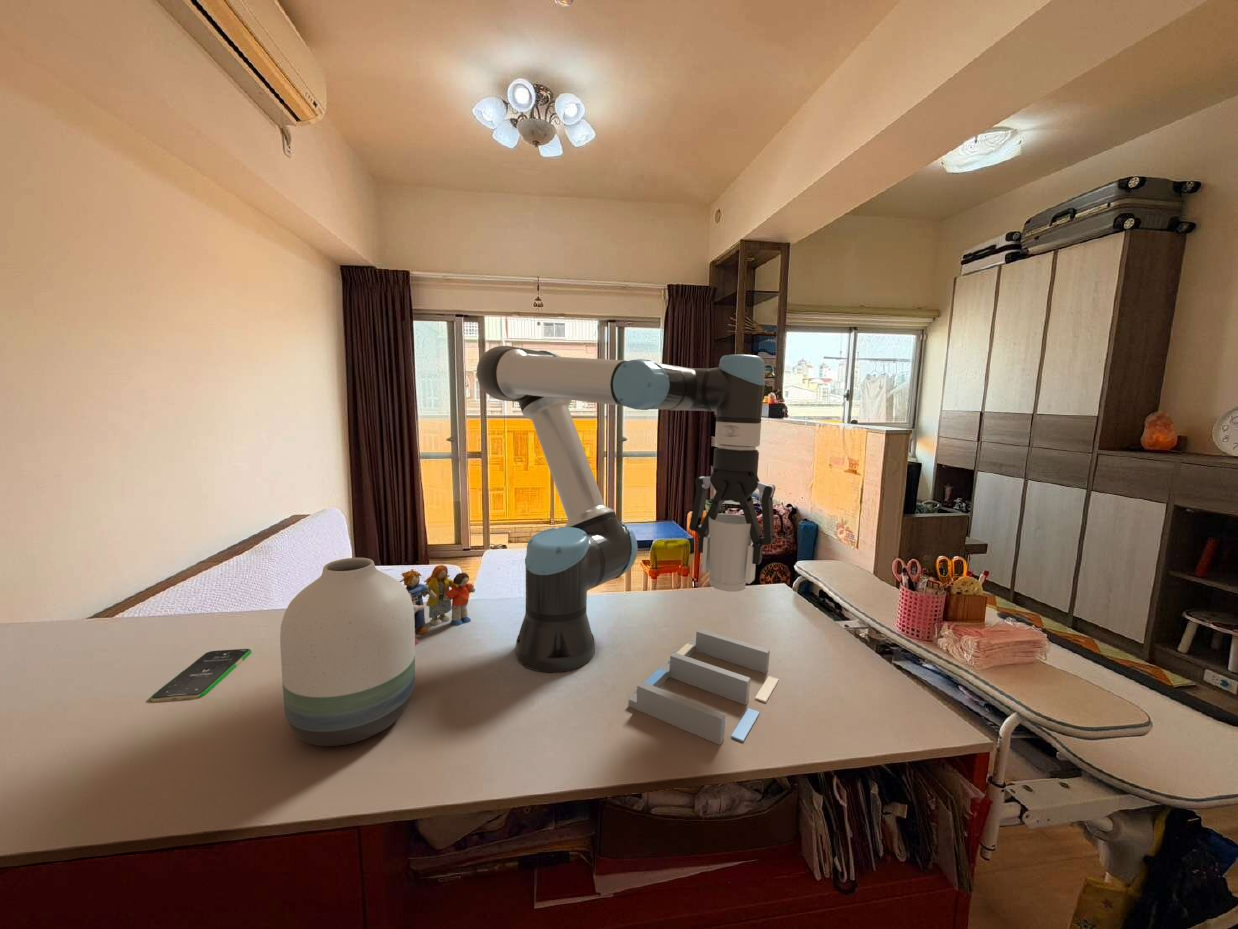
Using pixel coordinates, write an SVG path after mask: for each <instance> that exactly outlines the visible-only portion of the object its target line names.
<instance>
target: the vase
mask: <svg viewBox="0 0 1238 929" xmlns="http://www.w3.org/2000/svg"><path fill="white" fill-rule="evenodd" d="M399 581H400V580H397V579H396V578H394V577H392V576H391V575H389V574H387V573H385V572H382V571H380V570H379V569H377V567H376V564H375V562H374V560H373V559H371V558H367V557H348V558H342V559H341V558H340V559H336V560H332V561H330V562H328V563H326V564H325V565H324V566H323V568H322V573H321V575H320V576H319V577H318V578H317V579H315V580H314V581H312V582H311V583H310V584H308V585H307V586H306V587H304V588H303V589H302V590H300V592H298V594H297V595H295V597H293V599H291V601H290V603H289V604H288V605H287V608H286V609H285V611H284V614H283V616H282V619H281V624H280V634H279V635H280V638H279V639H280V640H279V642H280V661H281V662H280V663H281V664H280V666H281V678H282V679H281V680H282V694H283V705H284V706H283V708H284V714H285V718H286V721H287V724H288V725H289V727H290V729H291V731H292V732H293V733H294V734H295V736H296V737H298V738H299V739H300V740H301V741H304V742H305V743H308V744H311V745H315V746H321V747H322V746H323V747H333V746H334V747H337V746H344V745H350V744H354V743H358V742H361V741H363V740H366V739H369V738H371V737H373V736H376V735H377V734H380V733H381V732H383V731H384V730H386V729H388V728H389V727H390V726H392V725H393V724H394V723H396V721H397V720H398V719H400V717H401V716H402V715H403V714H404V713H405V711H406V710H407V708H408V705H409V704H410V701H411V700H412V696H413V694H414V689H415V684H416V683H415V681H416V645H415V639H416V636H415V633H416V632H415V630H416V629H415V622H414V608H413V603H412V600H411V597H410V595H409V593H408V591H407V589H406V587H405V585H404V584H402V582H399Z"/></svg>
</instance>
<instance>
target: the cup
mask: <svg viewBox="0 0 1238 929" xmlns="http://www.w3.org/2000/svg"><path fill="white" fill-rule="evenodd" d="M750 527H751V524H750V523H749V524H747V523H746V519H745V516H744V515H743V514H736V513H735V514H734V513H718V515H717V517H716V519H715V520H713V519H711V518H710V517H709V533H708V535H709V556H710V570H709V578H708V579H709V580H708V584H709V585H710V586H711V587H712V588H714V589H716V590H719V591H724V592H732V593H733V592H740V591H743V590H745V589H746V585H747V583H745V581H746V568H747V554H748V546H749V545H750V544H752V543H753V542H752V539H751V536H750Z"/></svg>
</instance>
